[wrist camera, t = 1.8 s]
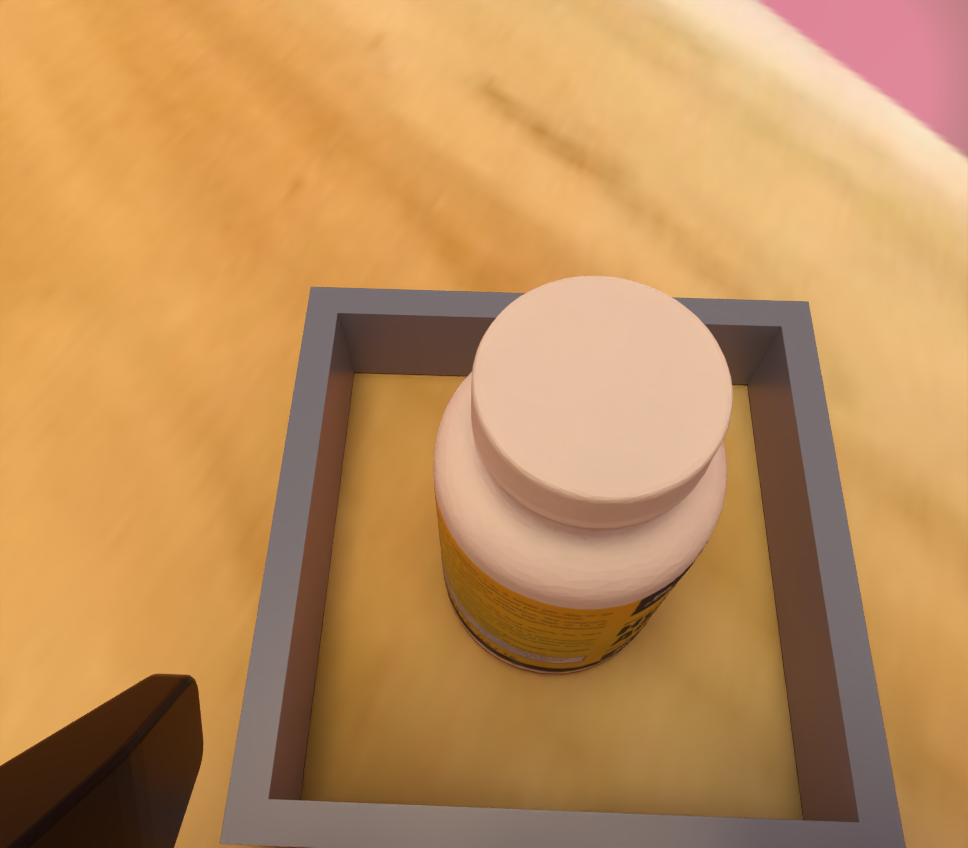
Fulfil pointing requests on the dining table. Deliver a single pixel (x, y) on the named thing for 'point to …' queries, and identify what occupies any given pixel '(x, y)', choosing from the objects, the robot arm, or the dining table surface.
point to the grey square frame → (794, 564)
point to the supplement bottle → (579, 469)
